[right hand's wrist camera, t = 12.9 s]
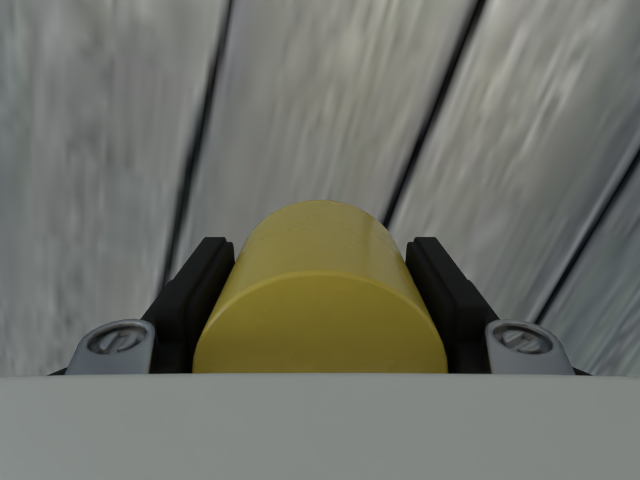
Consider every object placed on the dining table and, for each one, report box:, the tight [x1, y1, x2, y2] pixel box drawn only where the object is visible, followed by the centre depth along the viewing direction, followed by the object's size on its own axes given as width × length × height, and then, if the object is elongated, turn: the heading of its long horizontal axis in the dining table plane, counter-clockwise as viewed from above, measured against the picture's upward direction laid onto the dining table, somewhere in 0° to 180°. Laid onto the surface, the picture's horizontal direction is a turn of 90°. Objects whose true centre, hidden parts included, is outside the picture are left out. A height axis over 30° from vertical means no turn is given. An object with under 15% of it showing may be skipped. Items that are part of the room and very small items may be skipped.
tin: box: [192, 200, 448, 374], centre depth 10 cm, size 5×5×5 cm
